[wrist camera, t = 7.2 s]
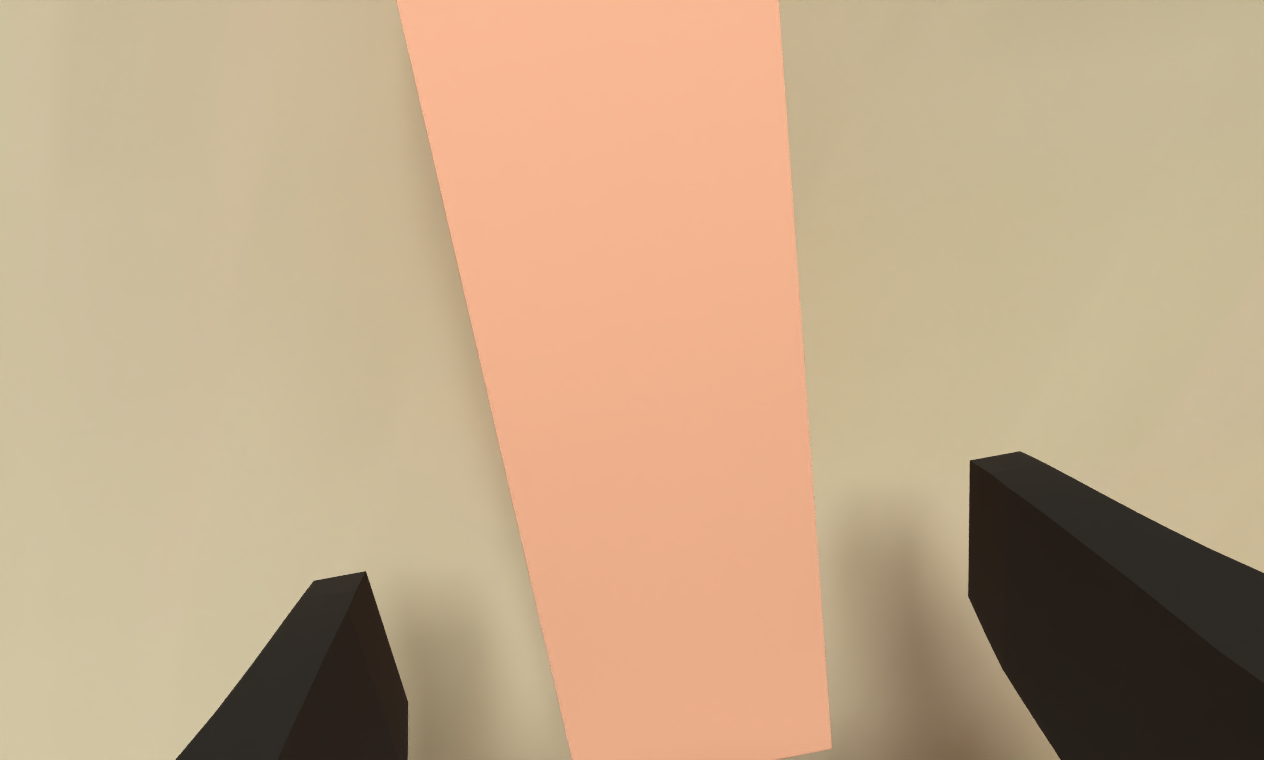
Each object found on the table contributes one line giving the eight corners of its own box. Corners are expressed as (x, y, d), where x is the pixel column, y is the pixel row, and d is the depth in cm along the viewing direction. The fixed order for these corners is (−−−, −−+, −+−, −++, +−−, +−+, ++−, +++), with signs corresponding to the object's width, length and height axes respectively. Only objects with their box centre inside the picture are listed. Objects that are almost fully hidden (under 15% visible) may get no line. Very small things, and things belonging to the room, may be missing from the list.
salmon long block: (392, -243, 12) (319, -319, 7) (643, -282, 13) (753, -385, 7) (552, 513, 18) (578, 798, 12) (730, 479, 18) (833, 748, 12)
